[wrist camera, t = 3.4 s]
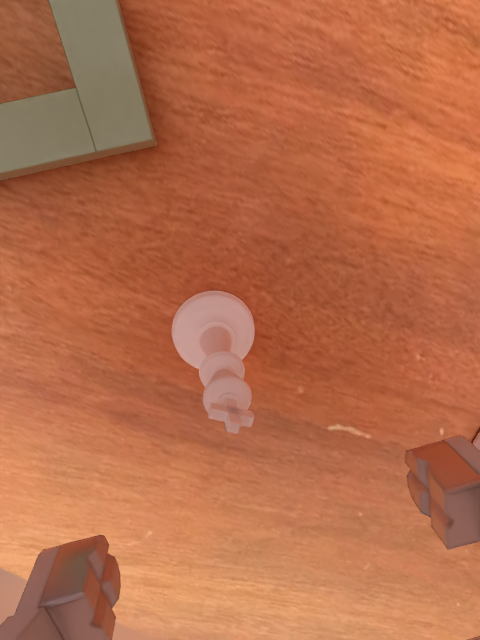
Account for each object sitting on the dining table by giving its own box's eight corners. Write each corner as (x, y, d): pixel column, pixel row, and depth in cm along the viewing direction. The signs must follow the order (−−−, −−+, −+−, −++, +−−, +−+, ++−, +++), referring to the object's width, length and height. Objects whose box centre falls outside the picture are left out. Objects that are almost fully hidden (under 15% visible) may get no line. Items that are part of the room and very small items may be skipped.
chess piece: (239, 375, 25) (273, 493, 15) (161, 356, 24) (148, 471, 14) (265, 303, 23) (320, 383, 14) (185, 279, 22) (186, 350, 13)
